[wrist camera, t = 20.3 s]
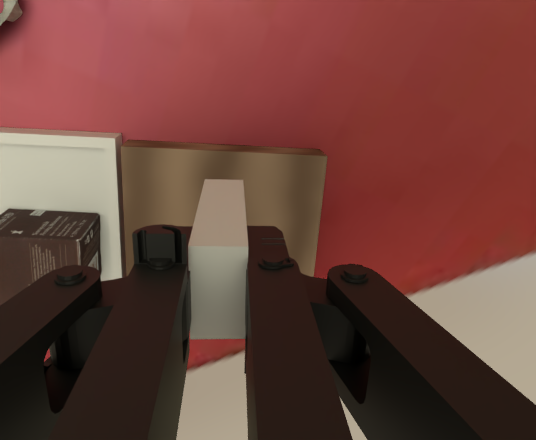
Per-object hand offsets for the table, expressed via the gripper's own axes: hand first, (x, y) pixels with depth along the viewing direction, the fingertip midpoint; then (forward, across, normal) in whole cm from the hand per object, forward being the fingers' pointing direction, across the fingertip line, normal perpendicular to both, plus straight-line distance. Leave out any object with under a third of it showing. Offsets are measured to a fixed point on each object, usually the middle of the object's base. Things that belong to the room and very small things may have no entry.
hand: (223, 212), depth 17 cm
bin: (+20, +15, +8) cm, 26 cm away
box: (+16, +11, +10) cm, 22 cm away
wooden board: (+20, 0, +8) cm, 22 cm away
